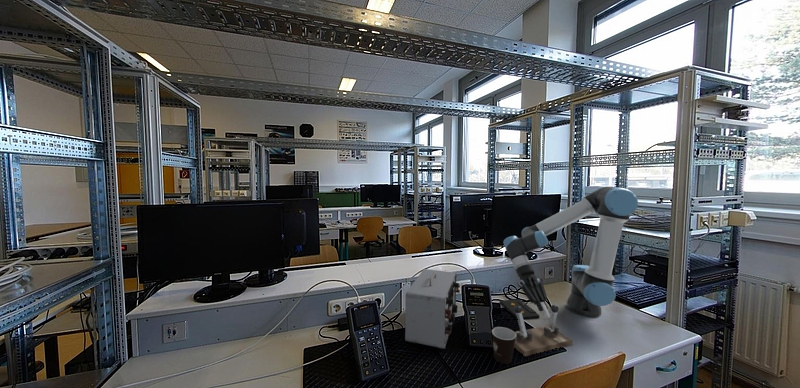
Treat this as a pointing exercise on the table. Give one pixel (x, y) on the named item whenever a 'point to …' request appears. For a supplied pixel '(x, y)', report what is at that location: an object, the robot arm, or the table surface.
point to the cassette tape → (526, 310)
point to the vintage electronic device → (431, 308)
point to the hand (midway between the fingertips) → (547, 318)
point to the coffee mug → (503, 344)
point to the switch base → (540, 340)
